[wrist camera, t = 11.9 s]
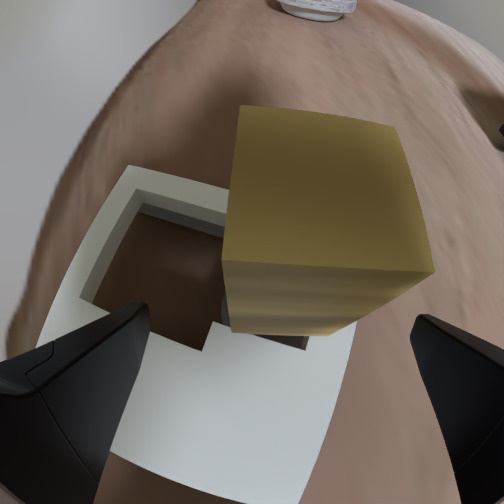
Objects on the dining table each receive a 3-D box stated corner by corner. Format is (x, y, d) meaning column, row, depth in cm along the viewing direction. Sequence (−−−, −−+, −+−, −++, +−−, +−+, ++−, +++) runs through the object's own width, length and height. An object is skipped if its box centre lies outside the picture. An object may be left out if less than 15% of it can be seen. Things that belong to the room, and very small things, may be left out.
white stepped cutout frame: (282, 486, 13) (294, 512, 9) (59, 393, 14) (22, 391, 11) (348, 263, 19) (371, 234, 15) (144, 200, 20) (128, 164, 17)
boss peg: (314, 362, 16) (467, 311, 5) (219, 358, 16) (166, 303, 4) (314, 274, 19) (410, 115, 7) (226, 269, 19) (211, 86, 7)
